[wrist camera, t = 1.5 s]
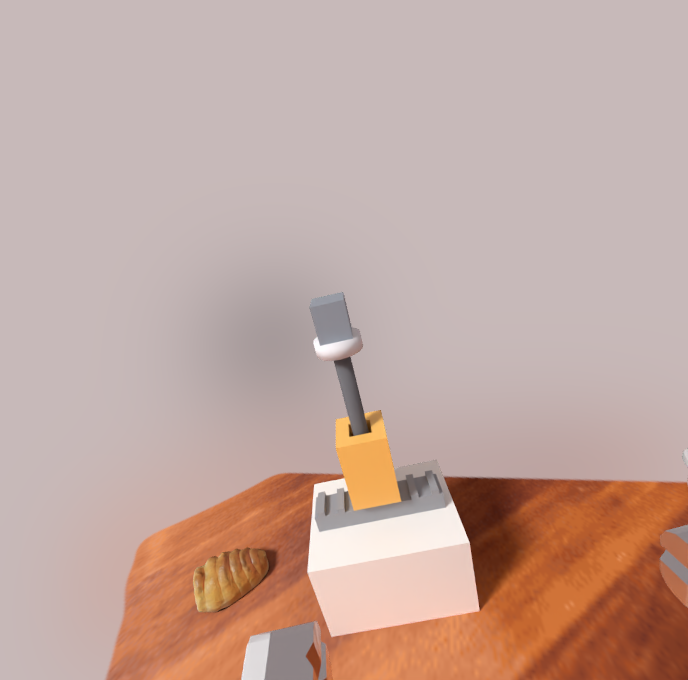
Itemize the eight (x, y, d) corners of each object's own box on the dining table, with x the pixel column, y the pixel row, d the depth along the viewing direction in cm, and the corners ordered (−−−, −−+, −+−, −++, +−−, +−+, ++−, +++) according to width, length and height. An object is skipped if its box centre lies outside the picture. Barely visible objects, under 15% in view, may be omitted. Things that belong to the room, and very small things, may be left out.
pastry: (265, 545, 52) (257, 526, 51) (274, 586, 46) (265, 565, 45) (199, 578, 49) (189, 559, 48) (200, 626, 43) (188, 605, 42)
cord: (396, 490, 42) (350, 288, 34) (402, 521, 38) (352, 299, 30) (359, 497, 43) (305, 299, 34) (362, 529, 39) (300, 311, 30)
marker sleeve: (393, 468, 42) (380, 409, 39) (401, 501, 37) (386, 437, 34) (351, 476, 42) (335, 419, 39) (353, 510, 37) (335, 448, 35)
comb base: (446, 518, 49) (433, 443, 45) (479, 611, 38) (466, 522, 34) (332, 540, 50) (309, 468, 46) (331, 636, 39) (300, 553, 34)
